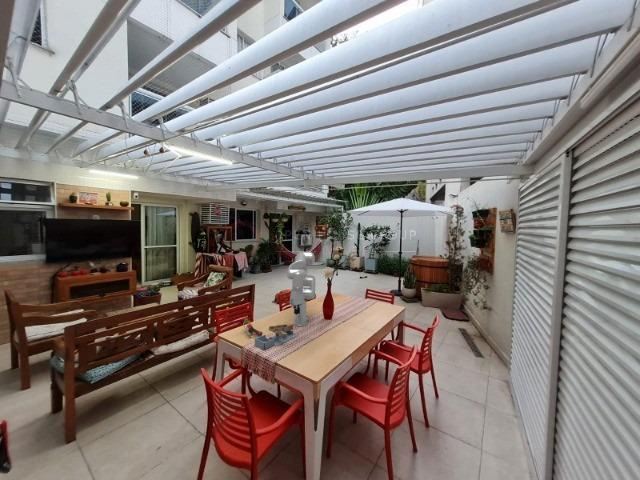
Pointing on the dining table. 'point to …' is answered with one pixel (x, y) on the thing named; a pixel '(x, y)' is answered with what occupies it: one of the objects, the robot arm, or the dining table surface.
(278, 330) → the seesaw
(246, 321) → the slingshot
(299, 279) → the robot arm
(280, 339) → the fulcrum
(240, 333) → the dining table surface
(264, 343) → the tray
